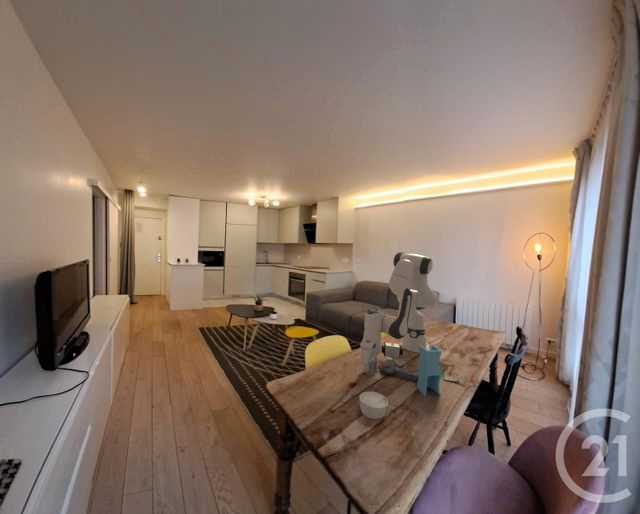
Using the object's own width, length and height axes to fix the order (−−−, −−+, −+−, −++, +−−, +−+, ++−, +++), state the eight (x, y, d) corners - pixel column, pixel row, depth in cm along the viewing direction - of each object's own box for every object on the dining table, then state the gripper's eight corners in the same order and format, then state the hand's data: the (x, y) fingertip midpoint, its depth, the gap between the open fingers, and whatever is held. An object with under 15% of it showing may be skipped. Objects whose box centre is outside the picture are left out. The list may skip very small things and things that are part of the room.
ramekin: (388, 423, 99) (389, 409, 99) (358, 418, 101) (358, 405, 100) (386, 406, 110) (387, 393, 110) (358, 402, 112) (359, 389, 111)
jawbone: (445, 385, 132) (445, 381, 132) (433, 367, 152) (433, 364, 152) (465, 385, 130) (465, 381, 130) (450, 368, 151) (450, 364, 151)
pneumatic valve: (402, 366, 148) (403, 345, 147) (380, 364, 150) (382, 342, 150) (401, 362, 153) (402, 342, 153) (380, 360, 156) (381, 339, 155)
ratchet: (383, 367, 146) (384, 353, 146) (431, 380, 133) (432, 366, 133) (378, 372, 139) (379, 358, 139) (428, 387, 126) (429, 372, 126)
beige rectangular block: (366, 368, 143) (367, 355, 143) (376, 371, 140) (377, 358, 140) (363, 372, 138) (363, 358, 138) (373, 375, 136) (374, 361, 135)
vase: (430, 385, 128) (433, 344, 128) (440, 394, 120) (443, 351, 120) (415, 386, 127) (417, 344, 126) (424, 395, 119) (427, 351, 118)
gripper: (373, 334, 149) (371, 358, 149) (358, 344, 131) (357, 372, 132) (384, 336, 146) (382, 361, 146) (371, 347, 128) (369, 376, 129)
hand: (370, 366), depth 139 cm, fingers open, 8 cm apart
